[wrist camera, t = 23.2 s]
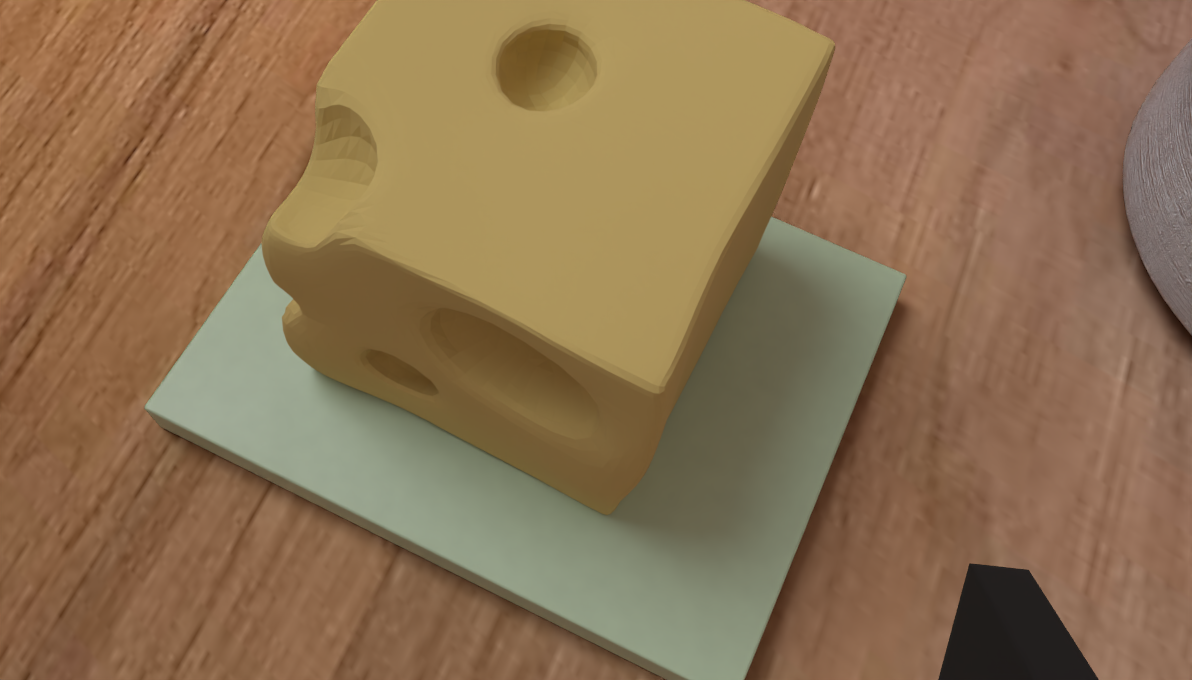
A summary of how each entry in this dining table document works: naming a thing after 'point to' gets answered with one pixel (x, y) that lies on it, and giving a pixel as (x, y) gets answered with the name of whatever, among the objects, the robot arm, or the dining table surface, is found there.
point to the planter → (1164, 184)
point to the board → (549, 517)
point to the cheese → (540, 214)
